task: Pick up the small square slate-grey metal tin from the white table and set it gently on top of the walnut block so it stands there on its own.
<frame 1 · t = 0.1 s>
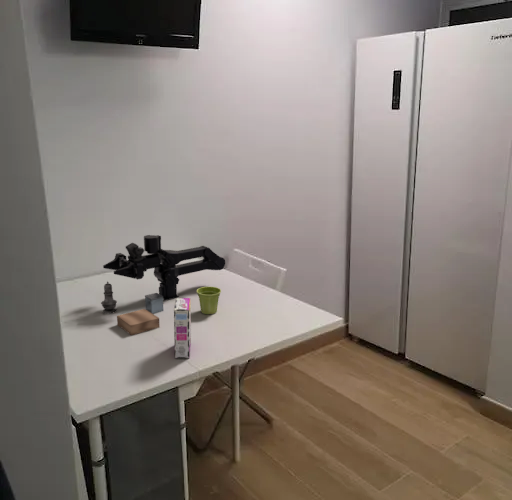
hand: (108, 269, 197), 17 cm above the table, tool horizontal, fingers open, 9 cm apart
slate tin: (154, 310, 202), on the table
candy bar box: (183, 351, 169), on the table
dark grey tall piece: (109, 311, 201), on the table
plant pot: (209, 312, 202), on the table
walnut block: (138, 327, 188), on the table
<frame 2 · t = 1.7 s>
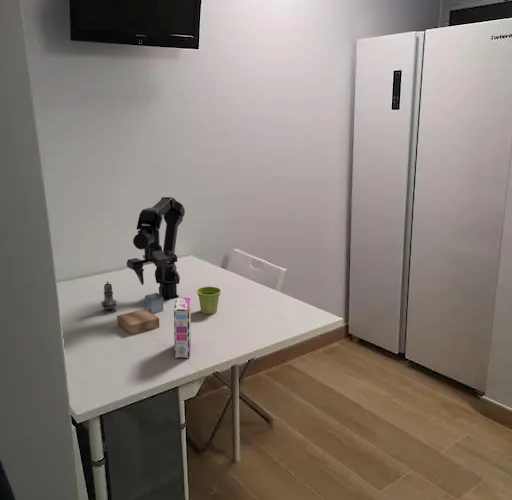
hand: (153, 282, 199), 11 cm above the table, tool pointing down, fingers open, 9 cm apart
nothing on the table moved.
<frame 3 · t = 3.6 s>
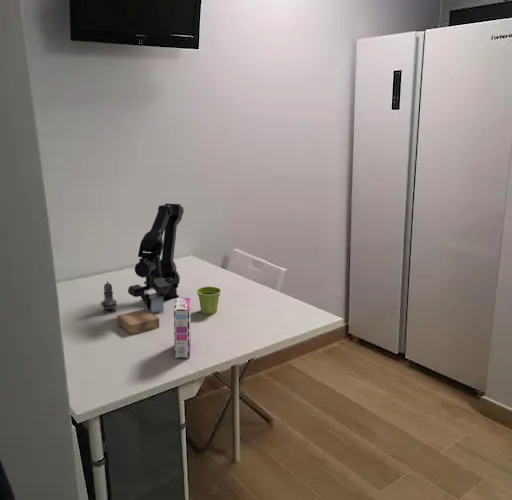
hand: (154, 307, 202), 1 cm above the table, tool pointing down, fingers closed on slate tin, 5 cm apart
slate tin: (154, 310, 202), on the table, touching gripper
everything else where it was.
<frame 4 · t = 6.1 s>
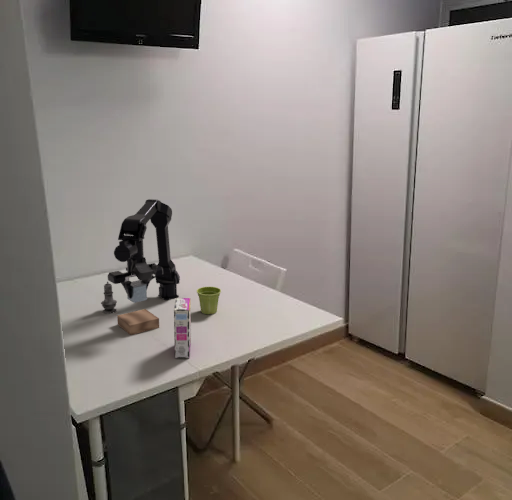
hand: (137, 296, 185), 11 cm above the table, tool pointing down, fingers closed on slate tin, 5 cm apart
slate tin: (137, 299, 185), point 10 cm above the table, touching gripper
everything else where it was.
when the fingers open (5 cm above the table, at t = 8.5 s): slate tin stays where it is, resting on walnut block.
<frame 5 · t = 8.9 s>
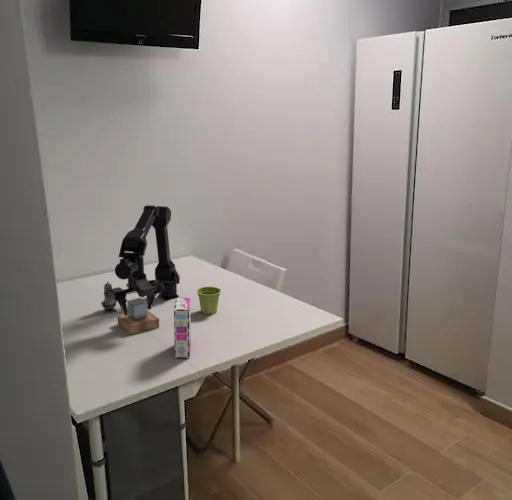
hand: (137, 312, 186), 5 cm above the table, tool pointing down, fingers open, 9 cm apart
slate tin: (137, 317, 187), point 4 cm above the table, touching walnut block
walnut block: (138, 327, 188), on the table, touching slate tin
everything else where it was.
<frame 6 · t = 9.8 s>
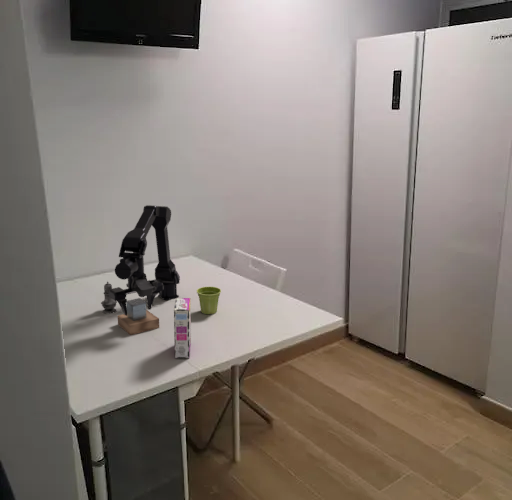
hand: (137, 312, 186), 5 cm above the table, tool pointing down, fingers open, 9 cm apart
slate tin: (136, 317, 186), point 4 cm above the table
walnut block: (138, 327, 188), on the table
everything else where it was.
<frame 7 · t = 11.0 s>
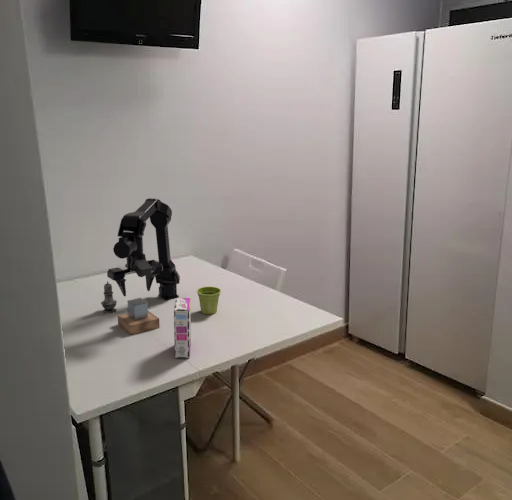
hand: (136, 293, 184), 12 cm above the table, tool pointing down, fingers open, 9 cm apart
slate tin: (138, 316, 187), point 4 cm above the table, touching walnut block
walnut block: (138, 327, 188), on the table, touching slate tin
everything else where it was.
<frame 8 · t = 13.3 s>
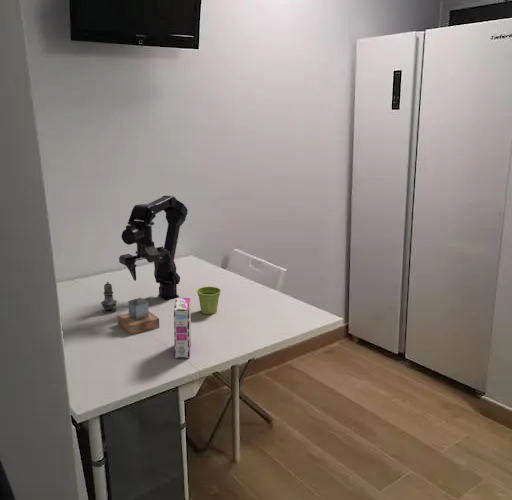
hand: (146, 278, 199), 13 cm above the table, tool pointing down, fingers open, 9 cm apart
nothing on the table moved.
at the end: slate tin 0.3 cm off-centre on the walnut block, point 4.0 cm above the walnut block's base; slate tin tilted 0°; the gripper is holding nothing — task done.
